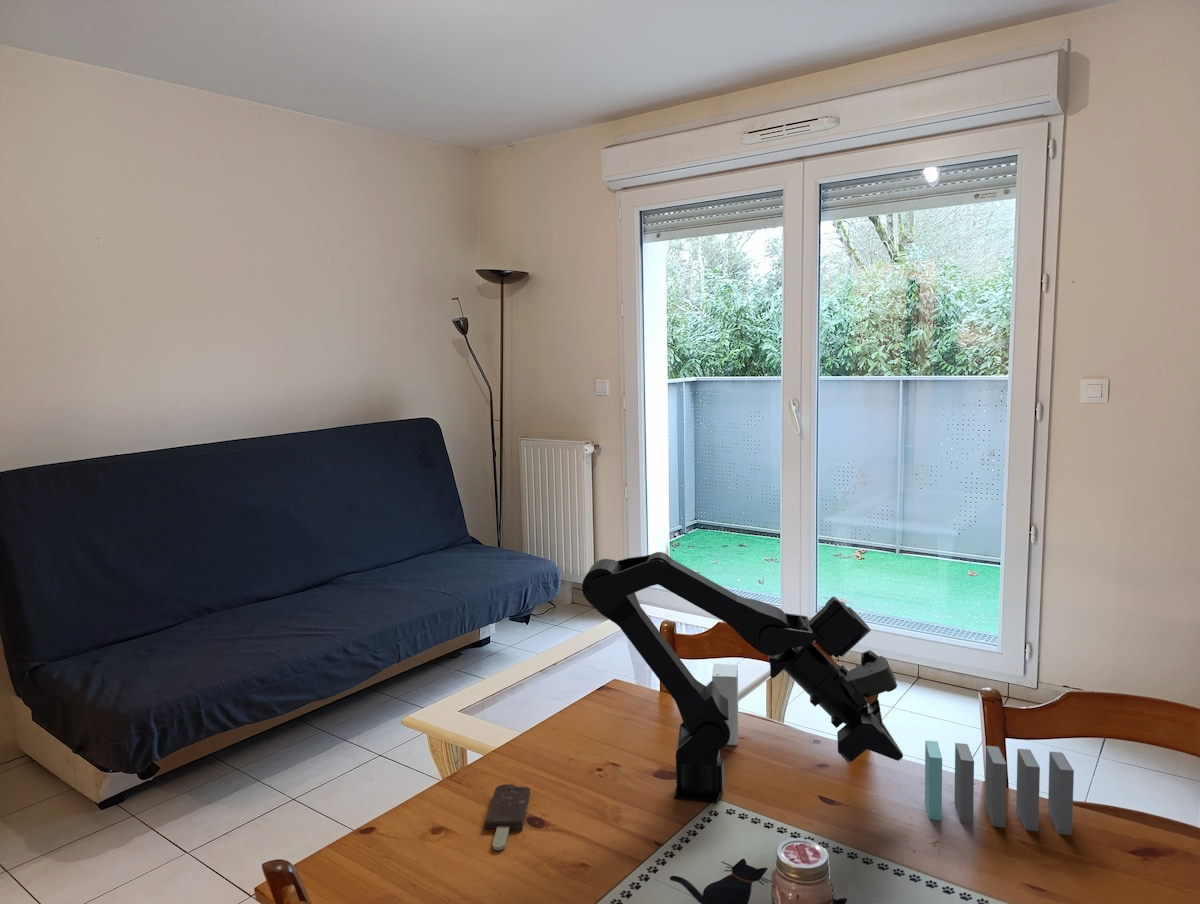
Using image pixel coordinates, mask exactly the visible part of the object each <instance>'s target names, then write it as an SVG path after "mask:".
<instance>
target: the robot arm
mask: <svg viewBox="0 0 1200 904" xmlns="http://www.w3.org/2000/svg"><path fill="white" fill-rule="evenodd" d="M581 586H582V587H581V591H582V595H583V597H584V598H585V600H586V601H587V602H588V603H589V604H590V605H591V606H592V608H594V609H595V610H596V611H597V612H598V613H599V614H600V615H601V616H603V617H604V618H606V619H608V620H609V621H610V622H612V623H614V624H615V625H617V627H619V628H620V630H621V631H622V632H623V634H624V635H625V636H626V637H627V639H628V640H629V642H630V643H631V644H632V646H633V647H634V648H635V650H636V651H637V652H638V654H639V656H641V658H642V659H643V660H644V661H645V663H646V665H648V667H649V668H650V669H651V671H652V673H654V675H655V676H656V678H657V679H658V680H659V682H660V683H661V684H662V686H663V687H664V688H665V690H666V691H667V692H668V694H669V695H670V696H671V697H672V699H673V700H674V702H675V704H676V706H677V709H678V712H679V715H680V717H681V720H682V722H681V723H680V724H679V727H678V738H677V745H676V750H675V776H676V777H675V779H676V780H675V781H676V785H675V790H674V792H673V797H674V799H679V800H680V799H682V800H689V801H697V802H705V803H714V804H715V803H718V802H719V798H720V794H722V793H723V791H724V787H725V761H724V760H725V759H723V758H721V750H722V749H723V748H724V747H726V746H728V745H727V743H728V741H729V739H730V713H729V709H728V699H726V698H725V697H723V696H722V695H721V694H720V693H719V691H718V689H717V687H716V685H715V684H714V682H713V681H712V680H711V681H710V682H709V683H708V684H707V685H705V684H703V683H701V681H698V680H697V679H696V678H695V677H694V676H693V674H692V673H691V671H690V670H689V669H688V667H687V666H686V665H685V663H683V661H682V660H681V658H680V657H679V655H678V654H677V653H676V652H675V651H674V649H673V648H672V647H671V645H670V644H669V642H668V641H667V640H666V639H665V637H664V635H663V634H662V633H661V632H660V630H659V629H658V627H657V626H656V625H655V624H654V623H653V621H652V620H651V618H650V617H649V616H648V614H647V613H646V612H645V610H644V609H643V608H642V606H641V605H640V602H639V600H638V597H637V595H636V593H637V592H639V591H642V590H644V589H647V588H649V587H653V586H660V587H662V588H664V589H665V590H668V591H670V592H671V593H673V594H675V596H678V597H680V599H681V598H682V599H683V600H686V601H687V602H689V603H690V604H692V605H694V606H696V607H697V608H699V609H701V610H703V611H705V612H706V613H708V614H709V615H712V616H713V617H716V618H717V619H719V620H721V621H722V622H725V624H727V625H728V626H729V627H731V628H732V630H734V631H735V632H736V633H737V634H738V635H739V636H740V637H741V639H742V640H743V641H745V642H746V643H747V644H748V645H750V646H751V647H753V648H754V649H755V650H756V651H757V652H759V653H760V654H761V655H764V656H766V657H768V662H769V676H770V678H772V679H774V678H776V677H777V676H778V675H779V674H780V673H781V672H783V671H784V672H785V673H786V674H787V675H788V677H790V678H791V679H793V681H794V682H795V683H797V684H798V686H800V687H801V689H803V691H804V692H805V693H806V694H807V695H808V696H809V702H810V703H811V705H813V706H814V708H815V707H817V706H819V707H820V708H822V709H823V710H824V711H825V713H827V714H828V716H830V723H831V724H832V725H833V726H834V727H835V728H836V729H838V727H840V726H841V725H842V724H845V725H844V726H842V728H840V729H839V730H838V731H837V742H836V743H837V753H838V754H839V755H840V756H841V757H842V758H843V759H844V760H845V761H846V762H847V763H852V762H853V761H855V759H857V758H858V757H859V756H860V755H862V754H863V753H864V752H865V751H871V752H874V753H876V754H878V755H882V756H884V757H886V758H889V759H891V760H894V761H900V760H902V759H903V757H904V755H903V752H902V750H901V749H900V747H899V746H898V744H897V743H896V741H895V739H894V738H893V736H892V735H891V733H890V732H889V729H887V727H886V726H885V724H884V722H883V718H882V712H881V705H880V701H879V699H876V700H874V701H873V702H871V704H870V703H869V700H868V699H867V698H871V697H875V696H876V695H879V694H882V693H885V692H887V693H889V692H892V691H894V690H895V689H897V688H898V685H897V681H896V675H894V673H893V670H892V668H891V666H890V665H889V662H888V660H887V659H886V657H884V656H883V655H879V656H878V654H876V653H875V652H873V651H872V650H870V649H869V650H865V651H863V652H861V653H860V663H859V664H860V665H859V664H856V665H855V667H854V668H852V669H850V670H849V669H848V668H846V667H845V666H844V665H843V664H839V663H838V664H836V665H835V664H834V663H833V662H832V661H831V660H830V659H829V658H828V656H829V657H834V658H836V659H837V658H839V657H844V656H845V655H846V654H847V653H848V652H849V651H850V650H852V648H854V647H855V646H856V645H857V644H858V643H859V642H861V640H862V639H864V638H865V637H866V636H867V635H868V634H869V633H870V632H871V631H872V629H871V628H870V627H869V625H868V624H867V623H866V621H864V619H862V618H861V617H860V616H859V615H858V613H856V611H855V610H853V608H852V607H850V606H847V605H846V604H845V603H844V602H842V601H840V600H839V599H838V598H837V597H836V596H831V597H830V599H828V601H826V603H825V605H823V607H822V608H821V609H820V610H819V611H818V612H817V613H815V615H814V616H813V617H811V618H809V617H808V616H807V615H802V614H793V613H789V612H788V613H787V612H784V611H783V610H782V609H781V608H779V607H777V606H775V605H772V604H770V603H767V602H764V601H762V600H759V599H753V598H748V597H744V596H741V595H738V594H736V593H734V592H732V591H730V590H728V589H727V588H725V587H723V586H721V585H719V584H718V583H716V582H714V581H712V580H710V579H709V578H707V577H706V576H704V575H702V574H700V573H698V572H697V571H694V570H693V569H691V568H689V567H687V566H685V565H684V564H682V563H680V562H678V561H677V560H674V559H673V558H672V557H670V556H669V554H667V553H665V552H663V551H656V552H653V553H651V554H647V555H644V556H643V555H642V556H641V555H640V556H633V557H628V558H623V559H620V560H615V559H611V558H603V559H600V560H597V561H596V562H594V563H593V564H592V565H591V567H590V568H589V570H588V572H587V573H586V574H585V576H584V578H583V580H582V585H581ZM814 642H815V643H816V644H817V645H818V646H819V648H821V650H822V651H824V653H826V654H827V655H828V656H826V655H825V654H824V653H823V652H822V651H821V650H820V649H819V648H818V647H817V646H816V645H815V644H814Z"/></svg>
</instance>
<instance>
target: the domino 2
mask: <svg viewBox="0 0 1200 904" xmlns="http://www.w3.org/2000/svg"><path fill="white" fill-rule="evenodd" d="M1007 769H1008V767H1007V762H1006V760H1005V758H1004V756H1003V754H1002V752H1001V749H1000V747H999V746H994V745H993V746H992V745H985V779H984V780H985V781H984V782H985V787H984V788H985V790H984V806H985V807H984V808H985V810H986V813H987V815H988V817H989V818H988V819H989V821H990V824H991V825H992V826H991V827H996V828H997V827H999V828H1006V820H1007V819H1006V818H1007V817H1006V814H1007V813H1006V811H1007V804H1006V803H1007V800H1006V799H1007Z"/></svg>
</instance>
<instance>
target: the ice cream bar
mask: <svg viewBox="0 0 1200 904" xmlns="http://www.w3.org/2000/svg"><path fill="white" fill-rule="evenodd" d="M529 797H530V798H531V788H530V787H527V786H516V785H515V784H509V783H508V784H500V785H497V786H496V787H495V790H494V791H493V795H492V799H491V802H490V806H489V809H488V810H487V811H488V812H487V814H486V817H485V818H486V819H485V821H484V831H485V830H489V831H488V832H491V831H490V830H496V831H495V834H494V837H493V840H492V849H493V850H494V851H502V850H504V849H505V847H506V845H507V842H508V838H509V837H508V836H509V833H510V832H520V831H521V832H522V831H523V829H524V824H525V821H526V816H527V811H528V807H527V806H529V801H530V798H529Z"/></svg>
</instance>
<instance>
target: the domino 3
mask: <svg viewBox="0 0 1200 904" xmlns="http://www.w3.org/2000/svg"><path fill="white" fill-rule="evenodd" d="M1016 751H1017V756H1016V757H1017V758H1016V799H1015V803H1016V804H1015V805H1016V806H1015V810H1016V813H1017V815H1018V817H1019V820H1020V822H1021V824H1022V826H1023V828H1024V831H1033V832H1039V821H1040V820H1039V817H1040V815H1039V813H1040V781H1041V780H1040V779H1041V778H1040V777H1041V775H1040V774H1041V773H1040V771H1041V767H1040V764H1038V761H1037V759H1036V758H1035V756H1034V754H1033V752H1032V750H1031V749H1028V748H1026V749H1025V748H1017V750H1016Z"/></svg>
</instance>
